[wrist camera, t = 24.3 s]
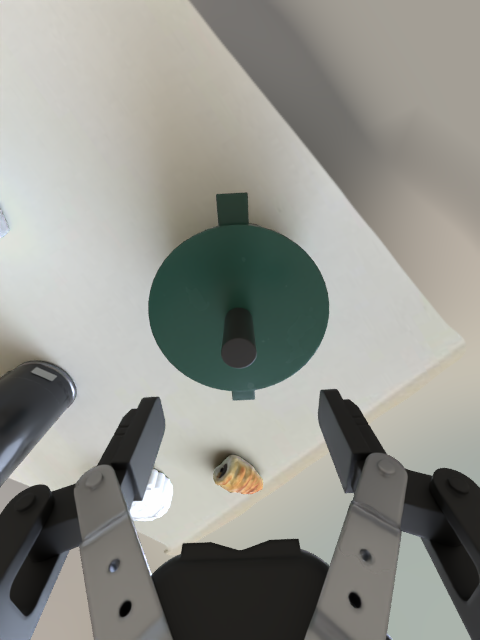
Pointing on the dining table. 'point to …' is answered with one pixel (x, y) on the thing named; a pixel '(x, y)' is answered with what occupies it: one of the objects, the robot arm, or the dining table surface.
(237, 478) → the pastry
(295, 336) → the lid
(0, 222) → the photo printer
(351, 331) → the dining table surface
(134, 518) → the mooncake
